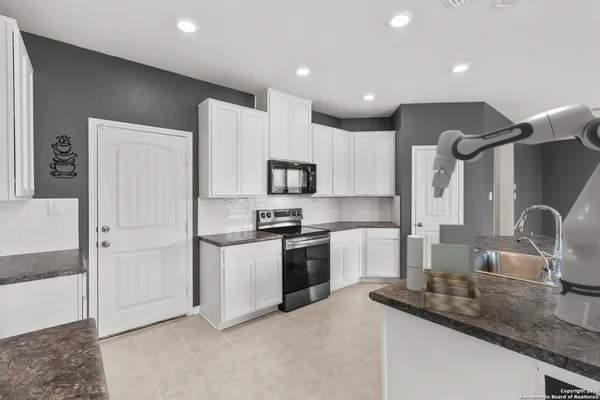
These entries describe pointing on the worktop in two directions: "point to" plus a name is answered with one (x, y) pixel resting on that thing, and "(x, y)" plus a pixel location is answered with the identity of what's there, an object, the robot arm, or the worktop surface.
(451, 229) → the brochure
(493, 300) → the worktop surface
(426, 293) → the box
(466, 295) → the offcut boards
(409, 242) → the cylindrical container
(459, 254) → the grey green flat block
